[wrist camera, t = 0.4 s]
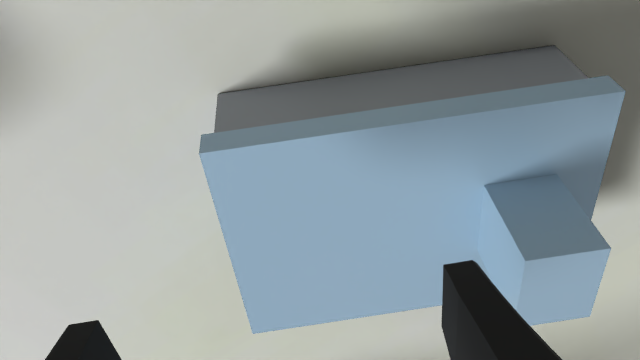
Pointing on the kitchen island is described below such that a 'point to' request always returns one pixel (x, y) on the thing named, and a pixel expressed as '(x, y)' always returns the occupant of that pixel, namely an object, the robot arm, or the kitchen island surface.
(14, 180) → the kitchen island surface
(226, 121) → the tub
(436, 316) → the kitchen island surface
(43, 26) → the kitchen island surface
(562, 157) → the lid
